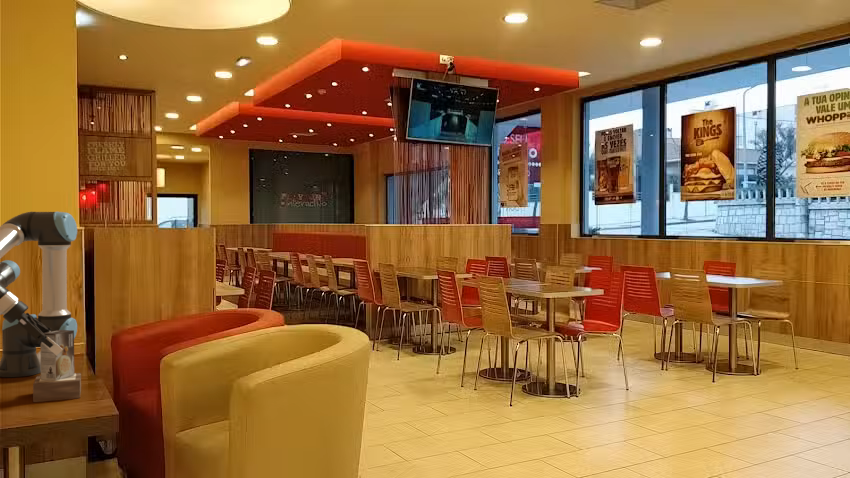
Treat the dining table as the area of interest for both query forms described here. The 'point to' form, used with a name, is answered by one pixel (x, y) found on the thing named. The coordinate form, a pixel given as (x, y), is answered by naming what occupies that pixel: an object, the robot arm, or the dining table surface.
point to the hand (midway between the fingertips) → (60, 349)
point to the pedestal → (57, 388)
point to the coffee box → (58, 356)
